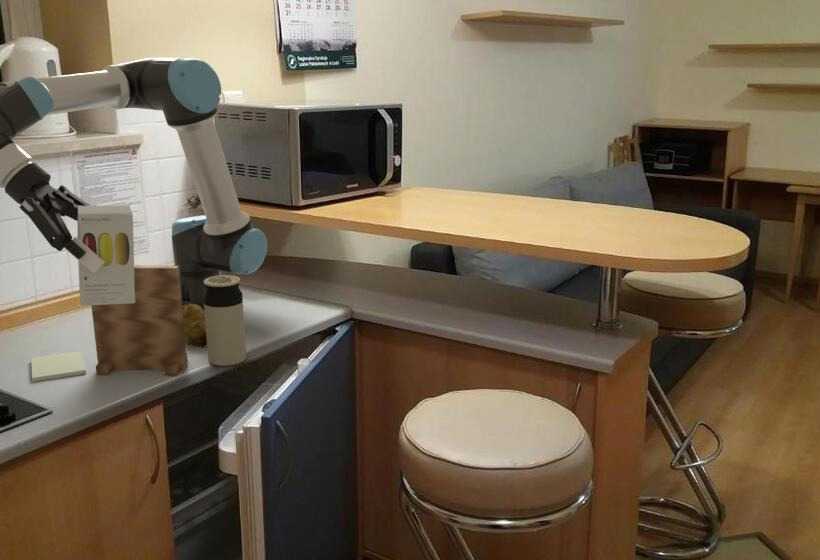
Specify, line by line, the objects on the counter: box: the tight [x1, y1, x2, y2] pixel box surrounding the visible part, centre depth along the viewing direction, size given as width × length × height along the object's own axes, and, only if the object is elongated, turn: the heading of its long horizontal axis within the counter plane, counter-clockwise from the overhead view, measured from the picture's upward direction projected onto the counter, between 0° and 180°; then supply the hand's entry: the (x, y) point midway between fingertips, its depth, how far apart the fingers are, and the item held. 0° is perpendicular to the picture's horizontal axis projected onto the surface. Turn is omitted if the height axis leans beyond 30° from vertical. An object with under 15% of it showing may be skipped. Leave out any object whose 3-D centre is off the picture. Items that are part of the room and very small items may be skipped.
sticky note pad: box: [30, 350, 87, 383], centre depth 165 cm, size 10×12×1 cm
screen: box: [90, 264, 188, 377], centre depth 162 cm, size 18×8×22 cm, turn 89°
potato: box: [182, 303, 207, 348], centre depth 180 cm, size 8×13×8 cm, turn 17°
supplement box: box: [77, 205, 135, 307], centre depth 144 cm, size 10×9×17 cm
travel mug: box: [204, 274, 247, 367], centre depth 167 cm, size 8×8×18 cm
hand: (113, 259), depth 145 cm, fingers closed on supplement box, 12 cm apart
